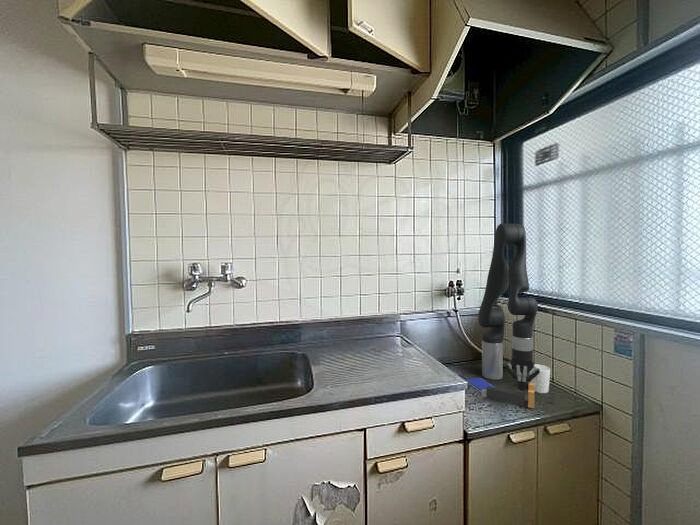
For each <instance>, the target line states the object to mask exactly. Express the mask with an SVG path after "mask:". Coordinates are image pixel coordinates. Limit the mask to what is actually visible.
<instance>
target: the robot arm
mask: <svg viewBox="0 0 700 525" xmlns="http://www.w3.org/2000/svg"><path fill="white" fill-rule="evenodd" d="M505 246H514V247H515V256H514V258H513V260H512V262H511V263H510V265H509V264H508V263H507V262H508V261H507V260H506V257H505V255H504V250H505ZM492 247H493V248H492V249H493V250H492V257H491V262H490V266H489V270H488V273H487V280H486V285H485V289H484V293H483V298H482V301H481V305H480V308H479V310H478V316H477V320H478V324H479V325H480V327H482V328H488V329H489V328H490V329H489V330H488V331H486V332H484V333H482V335H481V376H482V377H484V378H486V379H489V380H501V379H503V374H504V373H503V371H504V370H503V368H504V369H506V371H507V372H508V373H509V375H510V376H511V378H512V379H513V380H516V381H517V388H518V389H519V391H520V392H525V391H526V390H527V382H530V381H531V380H532V379H534V378H535V377H536V376H537V375H538V374H539V373H540V369H539V368H536V367H535V366H534V364H535V363H534V340H533V326H534V322H535V319H536V316H537V313H538V310H539V306H538V301H537V300H536V298H534V297H520V296H518V295H519V294H522V293H523V294H524V293H526V292H528V291H529V290H530V283H529V276H528V272H527V233H526V228H525V227H524V225H523V224H521V223H499V224H498V225H497V226H496V229H495V234H494V240H493V246H492ZM508 288H509V296H508V300H507V310H508V312H509V314H511V315H513V316H524V317H523V318H522V319H517V320H515V321H513V322H512V335H511V336H512V337H511V359H510V360H509V362H508V363H505V365H504V367H503V360H504V356H503V354H504V351H503V350H504V346H503V344H504V343H503V342H504V336H505V325H506V323H505V321H506V316H505V312H504V311H503V309H502V308H500V307H494V305H495V303H496V302H497V300H499V298H501V296H502V295H504V293H505V292H506V291H507V289H508ZM532 369H533V373H532V374H531V375H530V371H531V370H532ZM515 372H516V373H515ZM528 374H529V376H527V375H528Z"/></svg>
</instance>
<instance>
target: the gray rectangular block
mask: <svg viewBox="0 0 700 525" xmlns="http://www.w3.org/2000/svg"><path fill="white" fill-rule="evenodd" d="M481 398H486V399H489V400H494V399H495V401H499V400H500V401H501V402H504V401H505V403H509V402H511V403H510V404H514V403H516V404H515V405H519V404H521V405H520V406H524V405H525V404H526V392H525V391H516V390H512V389H508V388H506V389H505V388H500V387H496V386H494V387H491V386H487V390H486V389H482V393H481Z"/></svg>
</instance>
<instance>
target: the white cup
mask: <svg viewBox="0 0 700 525" xmlns="http://www.w3.org/2000/svg"><path fill="white" fill-rule="evenodd" d="M534 366H535V367H536V368H539V369H540V373H539V374H538V375H537V376H536V377H535V378H534V379H532V380H531V381H529V383H534V387H535V392H536V393H538V394H539V393H540V394H548V392H549V391H550V390H549V389H550V380H551V378H550V377H551V368H550V367H549V366H547V365H543V364H536V363H534ZM532 373H533V369H532V370H531V371H530V372H529V376H530V375H531V374H532ZM535 392H534V393H535Z"/></svg>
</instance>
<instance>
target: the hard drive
mask: <svg viewBox="0 0 700 525" xmlns="http://www.w3.org/2000/svg"><path fill="white" fill-rule="evenodd" d="M465 380H466V381H468V382H469V384H468V385H469V386H471V385H472V386H473V388H474V389H475V388H476V389H475V390H477V391H478V390H479V391H478V392H480V393H481V394H482V389H486V390H487V386H491V387H495V386H494V385H493V384H491V383H489V382H488V381H486V380H484V378H481V377H476V378H475V377H474V378H468V379H465ZM472 386H471V387H472Z"/></svg>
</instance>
